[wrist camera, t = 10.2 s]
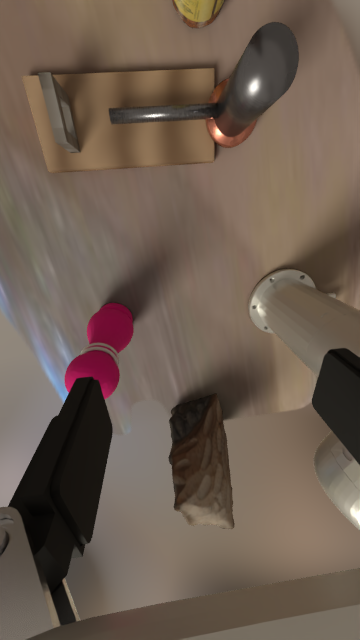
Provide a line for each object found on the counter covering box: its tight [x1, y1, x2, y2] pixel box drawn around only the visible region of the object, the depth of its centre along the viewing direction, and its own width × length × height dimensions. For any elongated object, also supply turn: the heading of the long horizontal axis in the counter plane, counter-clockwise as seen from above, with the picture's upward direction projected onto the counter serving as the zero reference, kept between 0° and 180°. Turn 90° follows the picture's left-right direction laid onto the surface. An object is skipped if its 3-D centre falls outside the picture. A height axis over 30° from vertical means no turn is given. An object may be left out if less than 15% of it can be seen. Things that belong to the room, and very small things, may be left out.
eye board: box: [22, 68, 214, 173], centre depth 26 cm, size 22×9×6 cm, turn 94°
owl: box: [169, 394, 234, 529], centre depth 44 cm, size 13×13×20 cm
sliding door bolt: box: [109, 22, 299, 148], centre depth 23 cm, size 18×6×11 cm, turn 94°
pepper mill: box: [65, 303, 133, 399], centre depth 31 cm, size 7×7×20 cm
